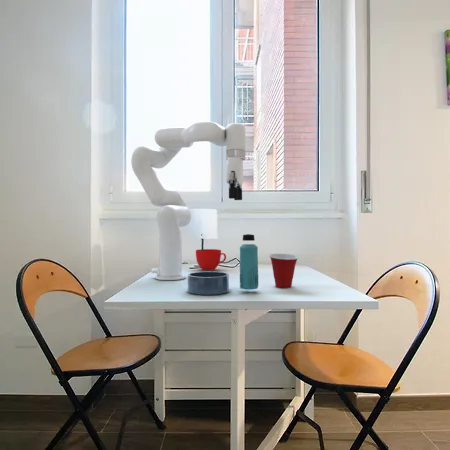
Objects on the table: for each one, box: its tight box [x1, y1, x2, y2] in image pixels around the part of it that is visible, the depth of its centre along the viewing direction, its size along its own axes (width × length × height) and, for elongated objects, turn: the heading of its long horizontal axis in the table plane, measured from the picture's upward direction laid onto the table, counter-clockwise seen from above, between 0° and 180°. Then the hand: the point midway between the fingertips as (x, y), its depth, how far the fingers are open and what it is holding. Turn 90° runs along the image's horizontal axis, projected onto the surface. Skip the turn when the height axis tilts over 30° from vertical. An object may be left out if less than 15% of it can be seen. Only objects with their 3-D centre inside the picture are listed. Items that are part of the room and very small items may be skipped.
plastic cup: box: [269, 253, 299, 289], centre depth 131 cm, size 11×11×12 cm
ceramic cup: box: [195, 248, 227, 271], centre depth 178 cm, size 13×17×10 cm
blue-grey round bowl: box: [187, 271, 230, 296], centre depth 123 cm, size 14×14×6 cm
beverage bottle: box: [238, 233, 259, 290], centre depth 121 cm, size 6×7×20 cm
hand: (235, 199), depth 139 cm, fingers open, 9 cm apart
